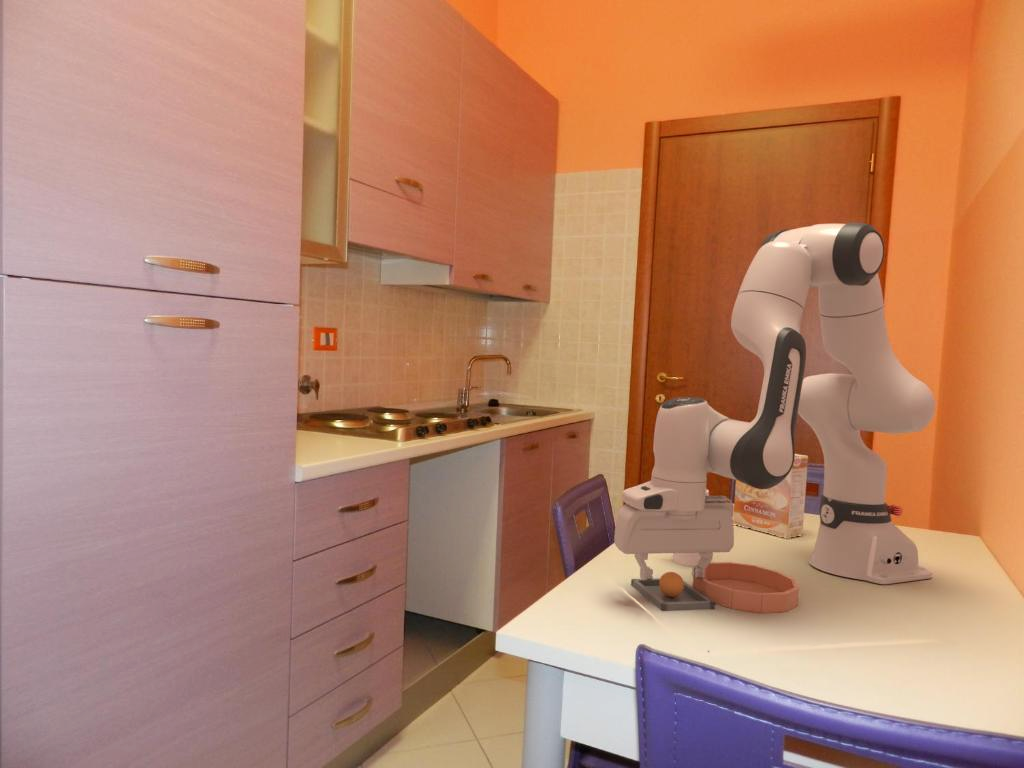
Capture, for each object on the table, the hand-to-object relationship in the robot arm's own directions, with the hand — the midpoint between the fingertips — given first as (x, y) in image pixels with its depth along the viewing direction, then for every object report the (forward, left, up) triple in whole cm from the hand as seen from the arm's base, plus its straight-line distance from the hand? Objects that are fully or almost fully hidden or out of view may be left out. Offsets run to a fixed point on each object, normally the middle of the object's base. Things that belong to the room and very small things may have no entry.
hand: (672, 578), depth 112 cm
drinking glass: (-12, -18, -4) cm, 22 cm away
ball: (0, 0, -3) cm, 3 cm away
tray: (0, 0, -4) cm, 4 cm away
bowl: (-13, 0, -4) cm, 14 cm away
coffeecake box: (-47, -43, -4) cm, 64 cm away
